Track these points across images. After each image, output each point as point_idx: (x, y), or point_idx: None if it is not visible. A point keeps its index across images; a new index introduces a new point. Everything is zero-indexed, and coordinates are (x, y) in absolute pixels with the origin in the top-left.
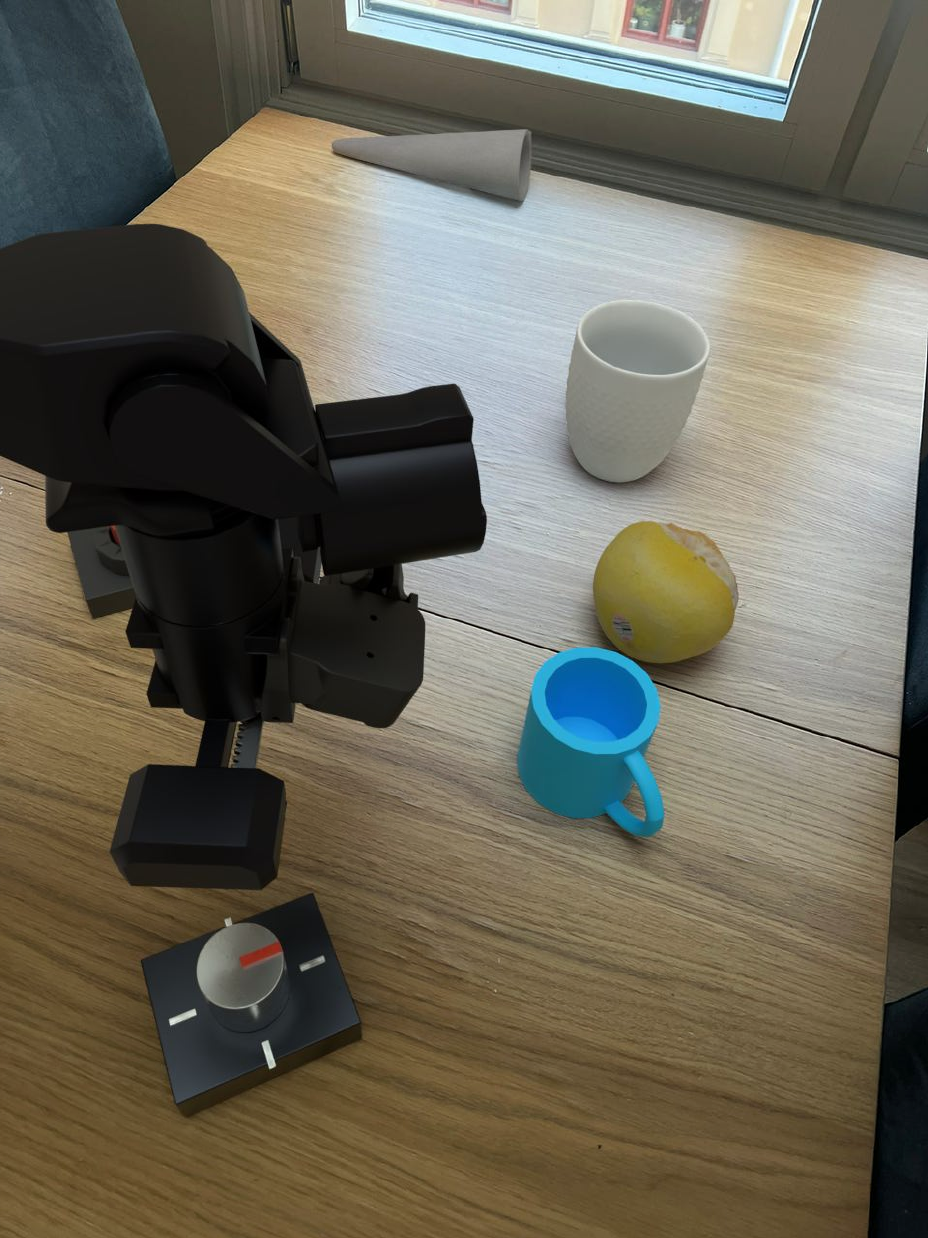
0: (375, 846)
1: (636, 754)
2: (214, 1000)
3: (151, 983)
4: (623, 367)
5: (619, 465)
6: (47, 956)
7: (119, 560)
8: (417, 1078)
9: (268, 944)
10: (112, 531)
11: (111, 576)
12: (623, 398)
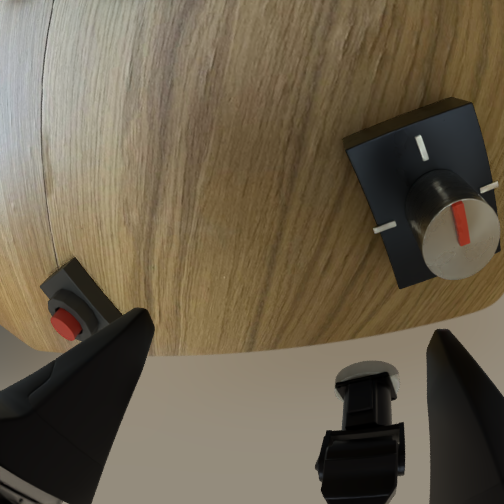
0: (265, 87)
1: None
2: (487, 261)
3: (419, 279)
4: None
5: None
6: (368, 321)
7: (89, 330)
8: (476, 55)
9: (450, 216)
10: (76, 336)
11: (101, 325)
12: None
